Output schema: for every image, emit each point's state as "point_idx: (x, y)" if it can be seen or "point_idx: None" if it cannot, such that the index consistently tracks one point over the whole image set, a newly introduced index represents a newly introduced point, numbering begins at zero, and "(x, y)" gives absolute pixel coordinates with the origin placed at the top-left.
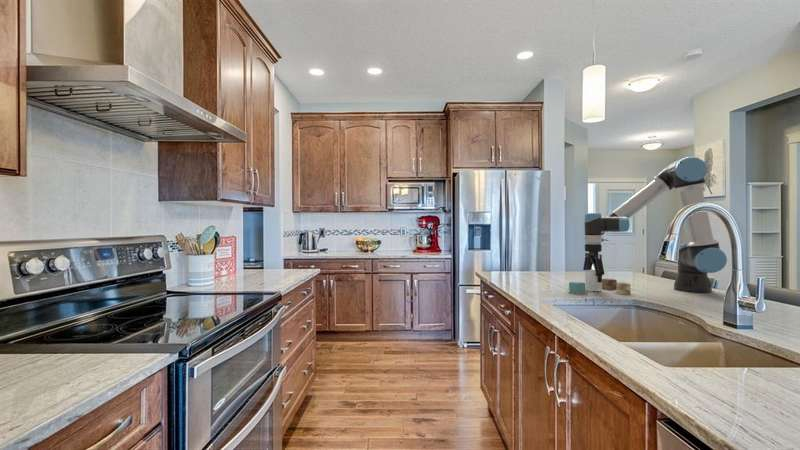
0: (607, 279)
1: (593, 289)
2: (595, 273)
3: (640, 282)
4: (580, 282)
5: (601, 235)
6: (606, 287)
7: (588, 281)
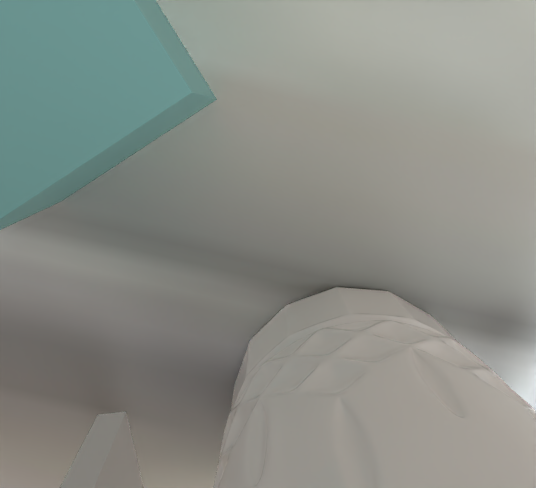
0: None
1: (238, 384)
2: None
3: None
4: (3, 145)
5: None
6: None
7: (277, 400)
